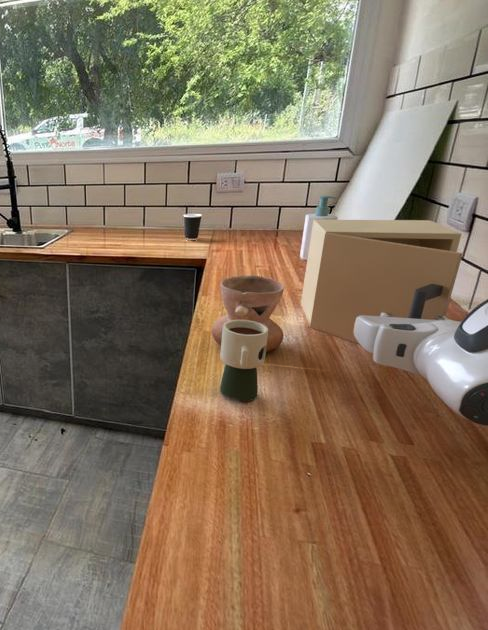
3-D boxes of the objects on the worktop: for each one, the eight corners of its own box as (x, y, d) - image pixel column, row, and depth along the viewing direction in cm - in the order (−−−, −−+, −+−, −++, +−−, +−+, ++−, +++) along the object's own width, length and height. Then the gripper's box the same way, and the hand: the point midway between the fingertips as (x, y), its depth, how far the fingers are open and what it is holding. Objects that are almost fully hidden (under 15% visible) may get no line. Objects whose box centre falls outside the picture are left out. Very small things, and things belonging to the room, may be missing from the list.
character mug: (261, 414, 74) (271, 342, 69) (216, 408, 76) (222, 338, 71) (257, 382, 83) (266, 317, 78) (217, 377, 85) (223, 314, 81)
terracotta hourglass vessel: (273, 369, 87) (282, 300, 82) (200, 353, 95) (204, 290, 90) (288, 335, 101) (297, 275, 96) (223, 324, 109) (228, 268, 104)
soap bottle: (331, 262, 156) (343, 197, 148) (302, 261, 158) (312, 197, 151) (326, 255, 165) (336, 194, 157) (298, 254, 167) (307, 194, 160)
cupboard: (434, 335, 98) (461, 233, 90) (310, 326, 106) (325, 231, 98) (408, 310, 113) (430, 220, 104) (300, 303, 120) (313, 219, 112)
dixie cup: (203, 240, 197) (205, 215, 193) (187, 242, 196) (188, 217, 192) (195, 237, 204) (196, 213, 200) (179, 239, 203) (180, 214, 199)
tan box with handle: (410, 377, 82) (441, 259, 74) (291, 333, 102) (305, 237, 94) (431, 366, 85) (463, 252, 77) (312, 326, 105) (327, 232, 98)
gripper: (537, 338, 64) (488, 305, 76) (371, 326, 70) (350, 297, 82) (523, 377, 66) (477, 339, 78) (363, 362, 72) (344, 329, 84)
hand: (411, 318), depth 80 cm, fingers open, 7 cm apart
